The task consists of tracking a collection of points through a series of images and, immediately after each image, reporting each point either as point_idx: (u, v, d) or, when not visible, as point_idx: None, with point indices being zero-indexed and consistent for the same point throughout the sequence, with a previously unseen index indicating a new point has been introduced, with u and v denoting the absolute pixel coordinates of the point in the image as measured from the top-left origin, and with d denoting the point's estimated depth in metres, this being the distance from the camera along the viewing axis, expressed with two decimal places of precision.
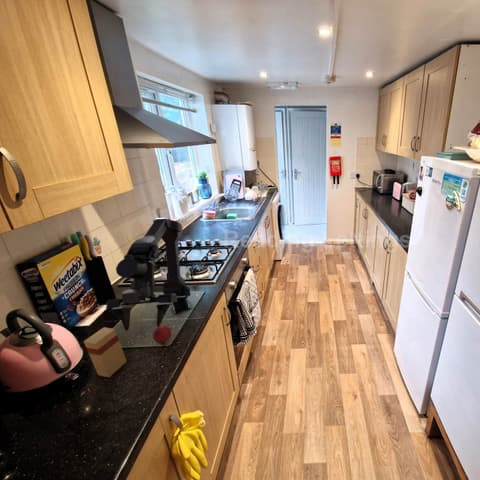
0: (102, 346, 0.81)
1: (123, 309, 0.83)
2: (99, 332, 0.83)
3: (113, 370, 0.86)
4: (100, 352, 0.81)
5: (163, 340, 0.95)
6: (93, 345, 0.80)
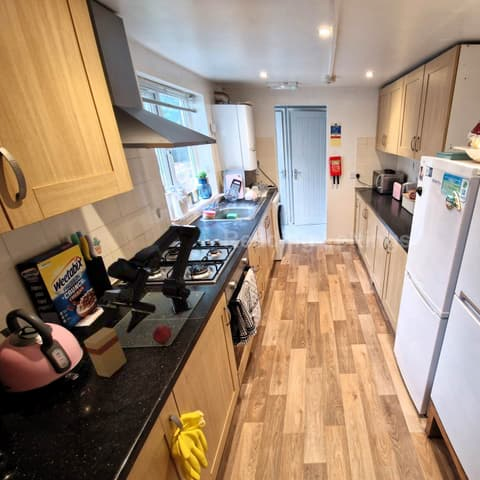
0: (102, 346, 0.81)
1: (109, 308, 0.90)
2: (99, 332, 0.83)
3: (113, 370, 0.86)
4: (100, 352, 0.81)
5: (163, 340, 0.95)
6: (93, 345, 0.80)
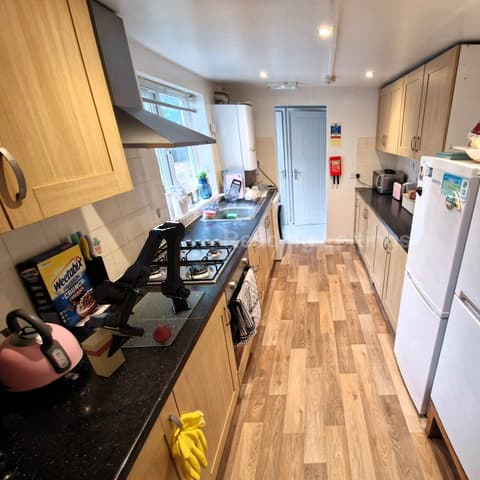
0: (101, 348, 0.81)
1: None
2: (96, 333, 0.82)
3: (112, 370, 0.86)
4: (99, 354, 0.80)
5: (163, 340, 0.95)
6: (91, 347, 0.79)
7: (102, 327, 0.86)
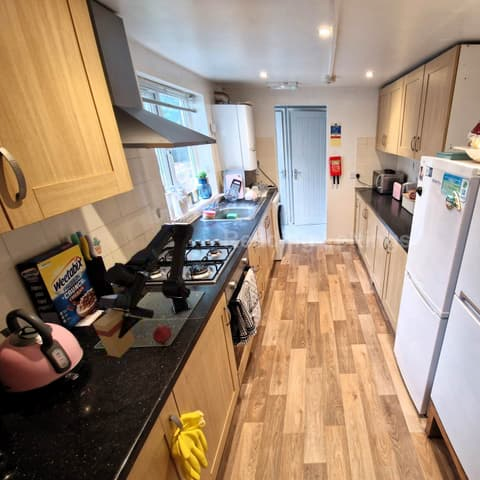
0: (112, 328, 0.82)
1: None
2: (107, 314, 0.84)
3: (123, 350, 0.87)
4: (110, 334, 0.82)
5: (163, 340, 0.95)
6: (103, 327, 0.80)
7: (113, 309, 0.88)
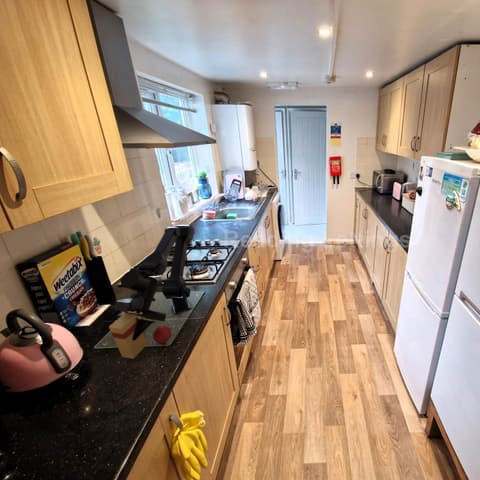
0: (127, 331, 0.86)
1: None
2: (122, 318, 0.87)
3: (136, 352, 0.91)
4: (125, 336, 0.85)
5: (163, 340, 0.95)
6: (119, 330, 0.84)
7: (126, 312, 0.92)
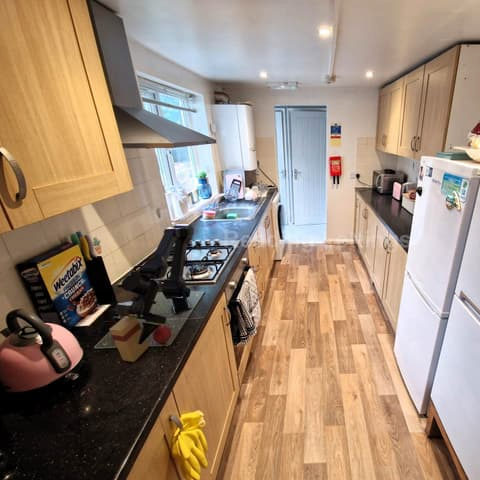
0: (127, 333, 0.87)
1: (120, 319, 0.92)
2: (122, 320, 0.88)
3: (137, 355, 0.91)
4: (125, 339, 0.86)
5: (163, 340, 0.95)
6: (119, 332, 0.85)
7: (122, 314, 0.92)
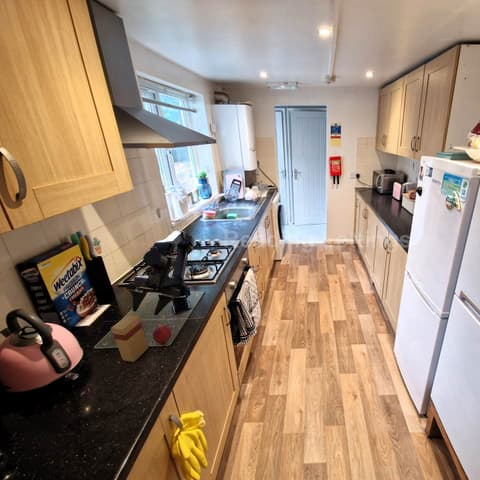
0: (128, 332, 0.87)
1: (137, 292, 0.98)
2: (124, 319, 0.89)
3: (137, 355, 0.91)
4: (126, 338, 0.87)
5: (163, 340, 0.95)
6: (120, 331, 0.85)
7: (138, 288, 0.98)
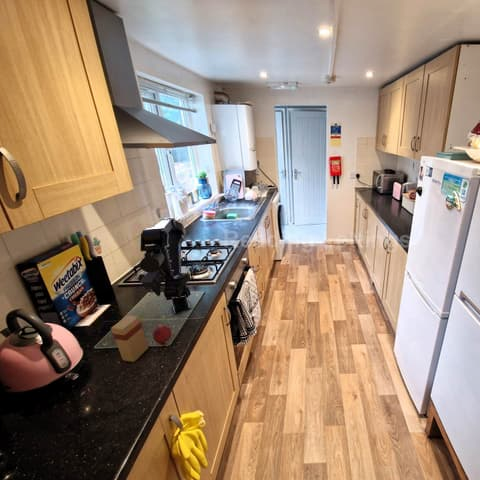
0: (128, 332, 0.87)
1: None
2: (124, 319, 0.89)
3: (137, 355, 0.91)
4: (126, 338, 0.87)
5: (163, 340, 0.95)
6: (120, 331, 0.85)
7: None
